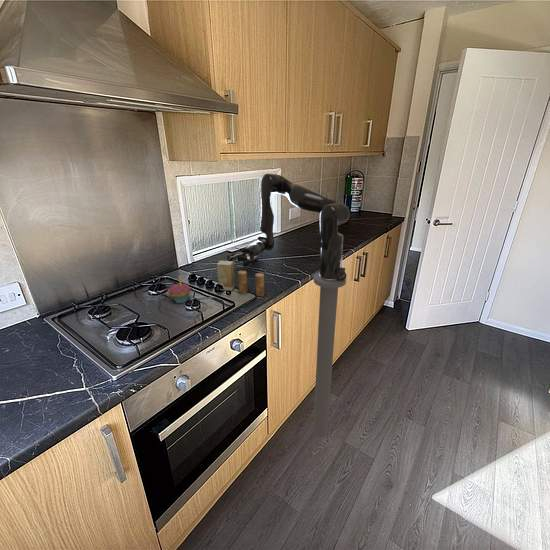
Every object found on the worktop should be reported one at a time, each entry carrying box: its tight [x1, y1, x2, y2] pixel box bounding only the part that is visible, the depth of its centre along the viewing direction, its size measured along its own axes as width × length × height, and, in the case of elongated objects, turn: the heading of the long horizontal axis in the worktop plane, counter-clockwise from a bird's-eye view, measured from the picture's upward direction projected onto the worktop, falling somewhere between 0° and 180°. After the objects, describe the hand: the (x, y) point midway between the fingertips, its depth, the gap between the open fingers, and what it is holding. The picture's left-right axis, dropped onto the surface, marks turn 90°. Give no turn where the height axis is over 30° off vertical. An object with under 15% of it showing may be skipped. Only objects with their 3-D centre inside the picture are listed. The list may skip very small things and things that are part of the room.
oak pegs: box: [237, 270, 266, 297], centre depth 122 cm, size 12×4×9 cm, turn 68°
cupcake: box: [167, 275, 192, 304], centre depth 116 cm, size 9×8×12 cm
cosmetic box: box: [216, 260, 236, 292], centre depth 126 cm, size 6×4×12 cm
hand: (235, 263), depth 132 cm, fingers open, 8 cm apart
